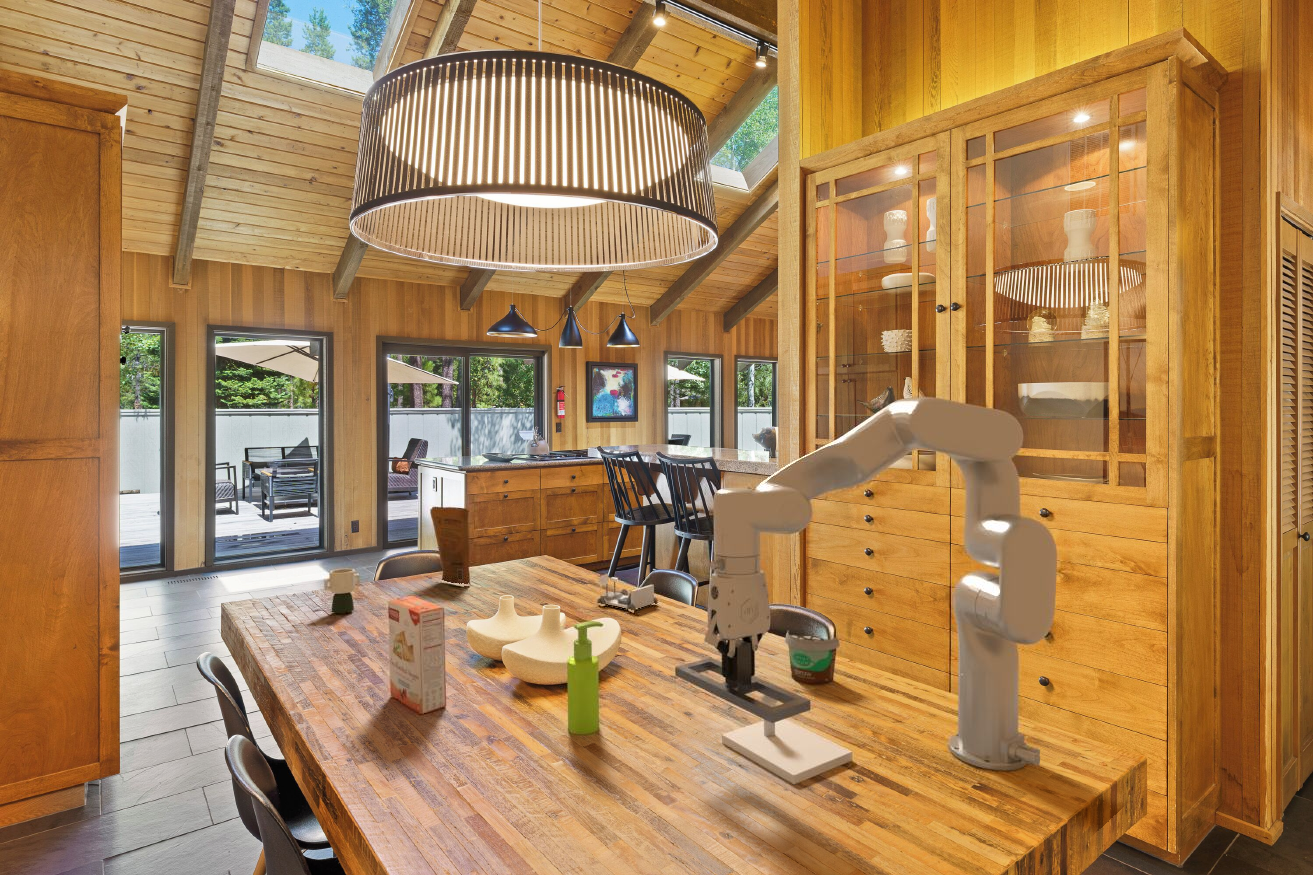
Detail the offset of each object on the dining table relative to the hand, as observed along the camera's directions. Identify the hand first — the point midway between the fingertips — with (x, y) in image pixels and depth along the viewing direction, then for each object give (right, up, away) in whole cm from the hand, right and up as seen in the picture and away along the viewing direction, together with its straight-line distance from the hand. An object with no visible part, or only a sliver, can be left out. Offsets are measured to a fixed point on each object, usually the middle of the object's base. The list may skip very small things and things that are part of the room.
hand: (738, 675), depth 116 cm
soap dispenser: (-27, -17, +20) cm, 37 cm away
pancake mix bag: (-86, -14, +138) cm, 163 cm away
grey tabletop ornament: (-24, -15, +108) cm, 112 cm away
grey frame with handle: (0, -3, 0) cm, 3 cm away
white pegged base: (+9, -17, +9) cm, 21 cm away
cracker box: (-63, -17, +32) cm, 73 cm away
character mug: (-109, -15, +101) cm, 150 cm away
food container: (+21, -16, +42) cm, 50 cm away
